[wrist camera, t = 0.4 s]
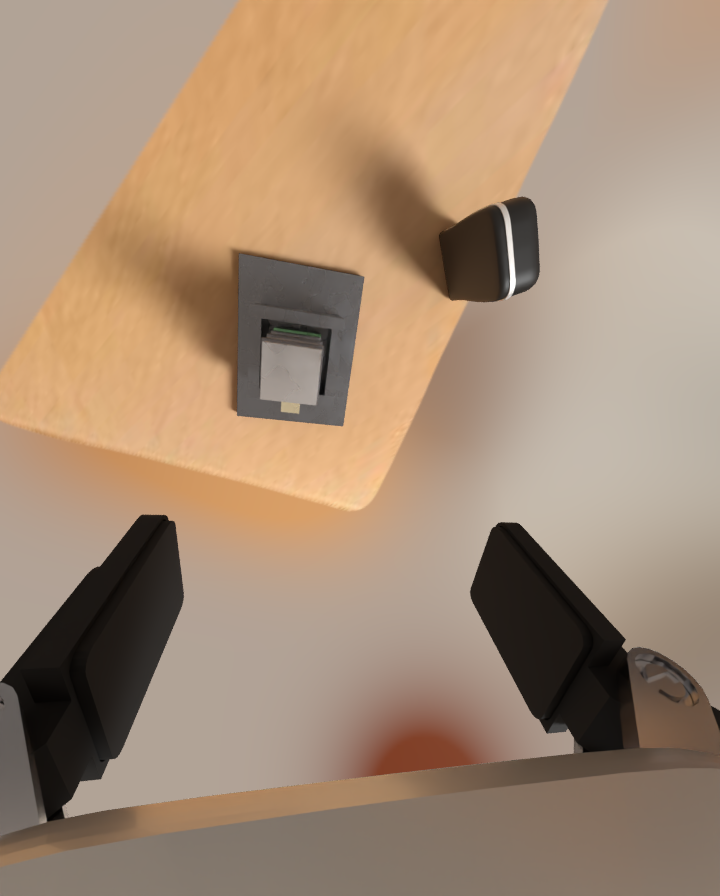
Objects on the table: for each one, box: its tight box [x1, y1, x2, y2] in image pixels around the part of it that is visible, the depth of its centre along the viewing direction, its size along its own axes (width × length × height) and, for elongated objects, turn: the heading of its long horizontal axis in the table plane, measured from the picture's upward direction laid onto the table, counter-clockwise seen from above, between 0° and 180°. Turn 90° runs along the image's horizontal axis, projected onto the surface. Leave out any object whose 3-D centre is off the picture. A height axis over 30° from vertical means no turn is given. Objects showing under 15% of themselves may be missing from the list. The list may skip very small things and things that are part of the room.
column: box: [259, 326, 324, 405], centre depth 29 cm, size 4×4×13 cm
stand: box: [237, 253, 364, 426], centre depth 32 cm, size 16×12×9 cm
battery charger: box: [439, 197, 540, 302], centre depth 30 cm, size 7×4×11 cm, turn 17°
